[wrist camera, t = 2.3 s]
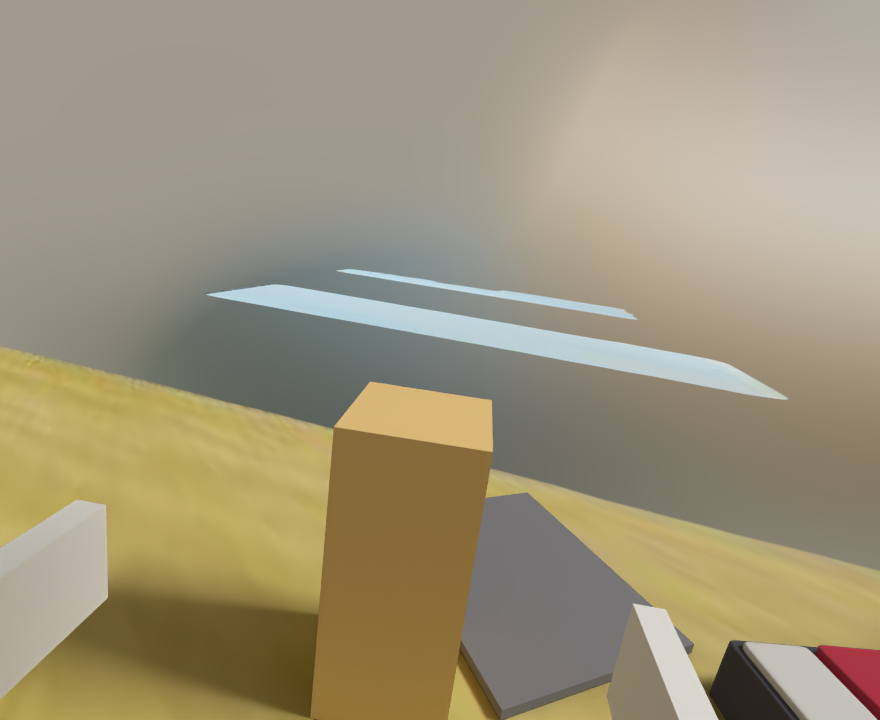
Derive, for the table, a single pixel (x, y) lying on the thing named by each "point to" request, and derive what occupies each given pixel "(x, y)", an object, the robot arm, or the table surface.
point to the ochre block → (399, 552)
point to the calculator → (797, 682)
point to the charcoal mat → (541, 609)
